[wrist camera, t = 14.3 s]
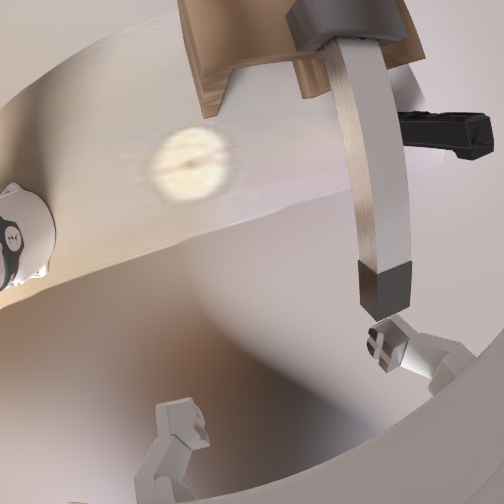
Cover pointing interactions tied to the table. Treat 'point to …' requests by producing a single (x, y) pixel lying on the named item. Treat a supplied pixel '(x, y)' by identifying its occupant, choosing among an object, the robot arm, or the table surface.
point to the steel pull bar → (373, 171)
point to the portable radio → (448, 132)
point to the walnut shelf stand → (286, 38)
